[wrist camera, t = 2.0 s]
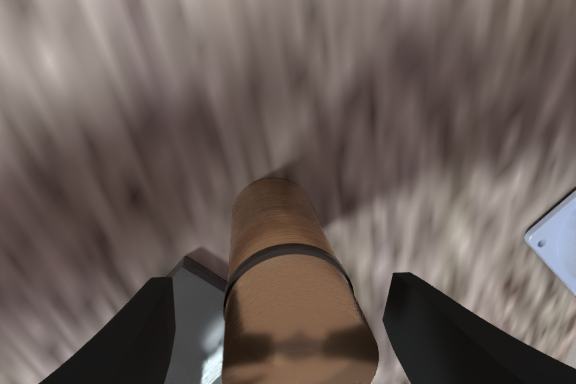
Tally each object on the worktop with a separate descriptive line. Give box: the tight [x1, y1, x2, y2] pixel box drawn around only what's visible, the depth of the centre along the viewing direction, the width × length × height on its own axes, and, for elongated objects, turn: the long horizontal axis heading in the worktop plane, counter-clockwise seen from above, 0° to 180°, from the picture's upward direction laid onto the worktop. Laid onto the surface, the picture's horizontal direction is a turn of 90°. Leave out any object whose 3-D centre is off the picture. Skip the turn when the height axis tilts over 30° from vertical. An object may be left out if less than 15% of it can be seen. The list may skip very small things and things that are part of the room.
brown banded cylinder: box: [221, 178, 379, 384], centre depth 12 cm, size 4×4×9 cm
